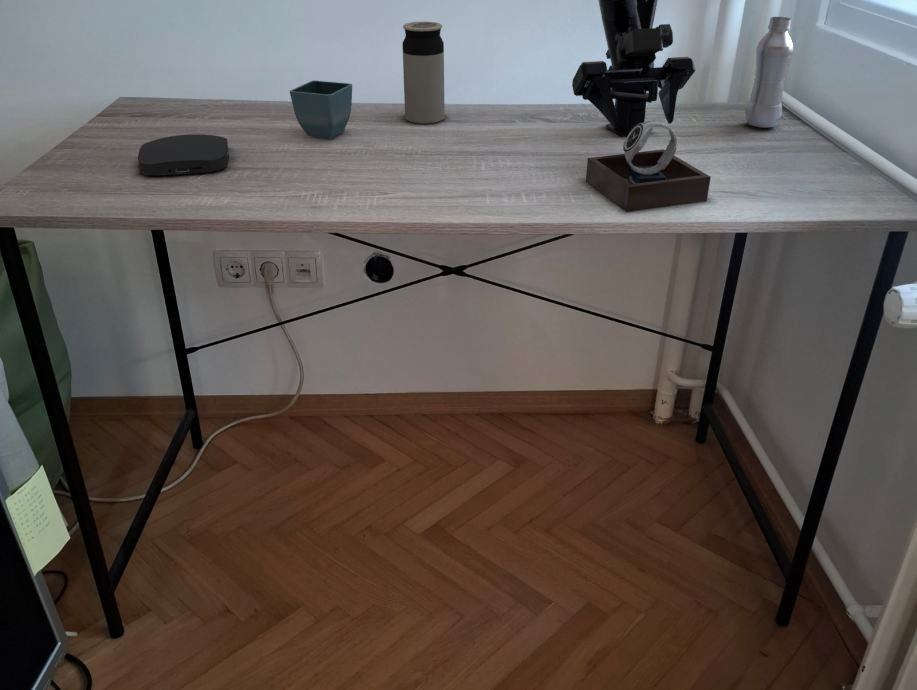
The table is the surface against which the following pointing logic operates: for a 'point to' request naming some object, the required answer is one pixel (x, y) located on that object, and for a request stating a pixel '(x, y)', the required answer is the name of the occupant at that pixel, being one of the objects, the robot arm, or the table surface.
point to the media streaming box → (183, 154)
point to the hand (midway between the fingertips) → (643, 124)
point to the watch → (637, 142)
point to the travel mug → (423, 72)
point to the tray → (675, 190)
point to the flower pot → (322, 107)
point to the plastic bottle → (770, 74)
